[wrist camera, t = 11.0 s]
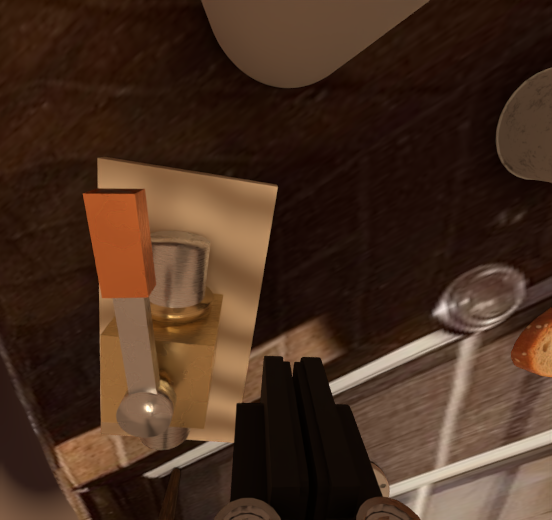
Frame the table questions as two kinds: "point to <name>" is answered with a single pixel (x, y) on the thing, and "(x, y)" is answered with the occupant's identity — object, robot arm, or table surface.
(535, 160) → the grey stone cylinder
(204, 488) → the table surface
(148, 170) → the mounting board
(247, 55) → the cylinder vase
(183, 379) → the valve body
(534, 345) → the bread slice
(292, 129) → the table surface
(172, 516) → the decorative torch
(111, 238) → the valve lever
